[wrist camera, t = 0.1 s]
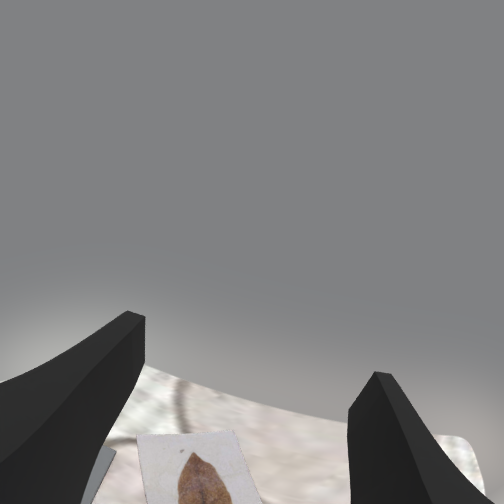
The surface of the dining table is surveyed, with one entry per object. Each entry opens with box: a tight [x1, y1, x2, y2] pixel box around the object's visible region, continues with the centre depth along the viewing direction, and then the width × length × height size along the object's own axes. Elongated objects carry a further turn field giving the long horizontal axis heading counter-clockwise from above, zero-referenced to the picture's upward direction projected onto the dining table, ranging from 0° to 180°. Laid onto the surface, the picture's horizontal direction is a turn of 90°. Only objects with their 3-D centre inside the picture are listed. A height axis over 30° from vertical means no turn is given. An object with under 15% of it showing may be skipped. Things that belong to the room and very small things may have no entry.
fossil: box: [136, 430, 262, 504], centre depth 21 cm, size 16×1×10 cm
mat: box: [81, 445, 116, 504], centre depth 20 cm, size 8×10×1 cm
